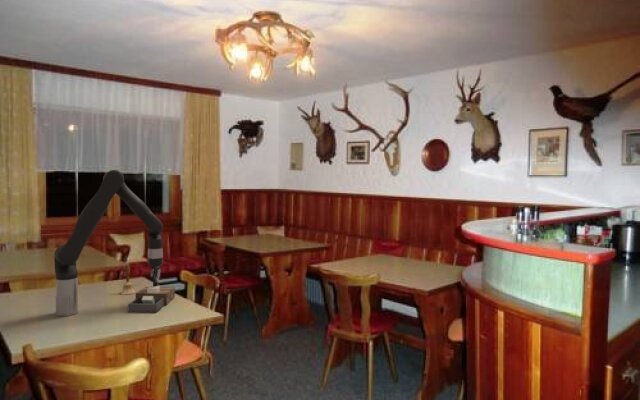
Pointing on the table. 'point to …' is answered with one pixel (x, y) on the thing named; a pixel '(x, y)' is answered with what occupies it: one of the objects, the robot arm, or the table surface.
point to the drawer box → (159, 293)
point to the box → (146, 305)
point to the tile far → (153, 289)
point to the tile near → (148, 300)
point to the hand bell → (127, 284)
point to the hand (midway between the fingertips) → (155, 288)
